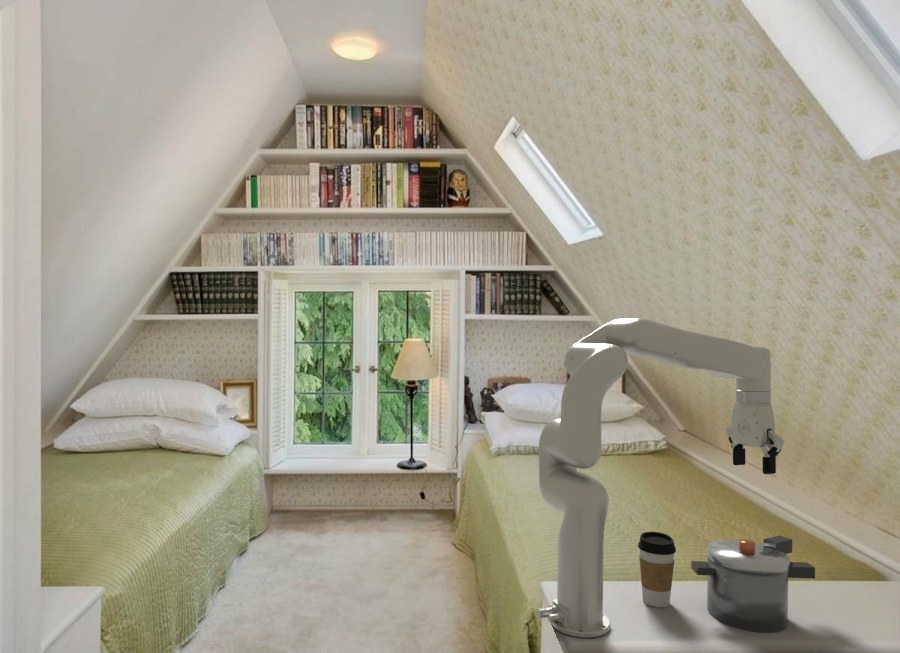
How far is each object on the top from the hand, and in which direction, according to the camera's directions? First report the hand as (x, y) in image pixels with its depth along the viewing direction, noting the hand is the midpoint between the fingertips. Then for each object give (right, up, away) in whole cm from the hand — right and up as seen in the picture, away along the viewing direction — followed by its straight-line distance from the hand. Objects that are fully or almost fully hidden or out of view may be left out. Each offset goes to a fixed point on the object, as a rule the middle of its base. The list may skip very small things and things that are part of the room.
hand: (753, 469), depth 144 cm
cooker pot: (-6, -30, -11) cm, 32 cm away
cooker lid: (-5, -18, -10) cm, 21 cm away
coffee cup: (-25, -30, -5) cm, 39 cm away
